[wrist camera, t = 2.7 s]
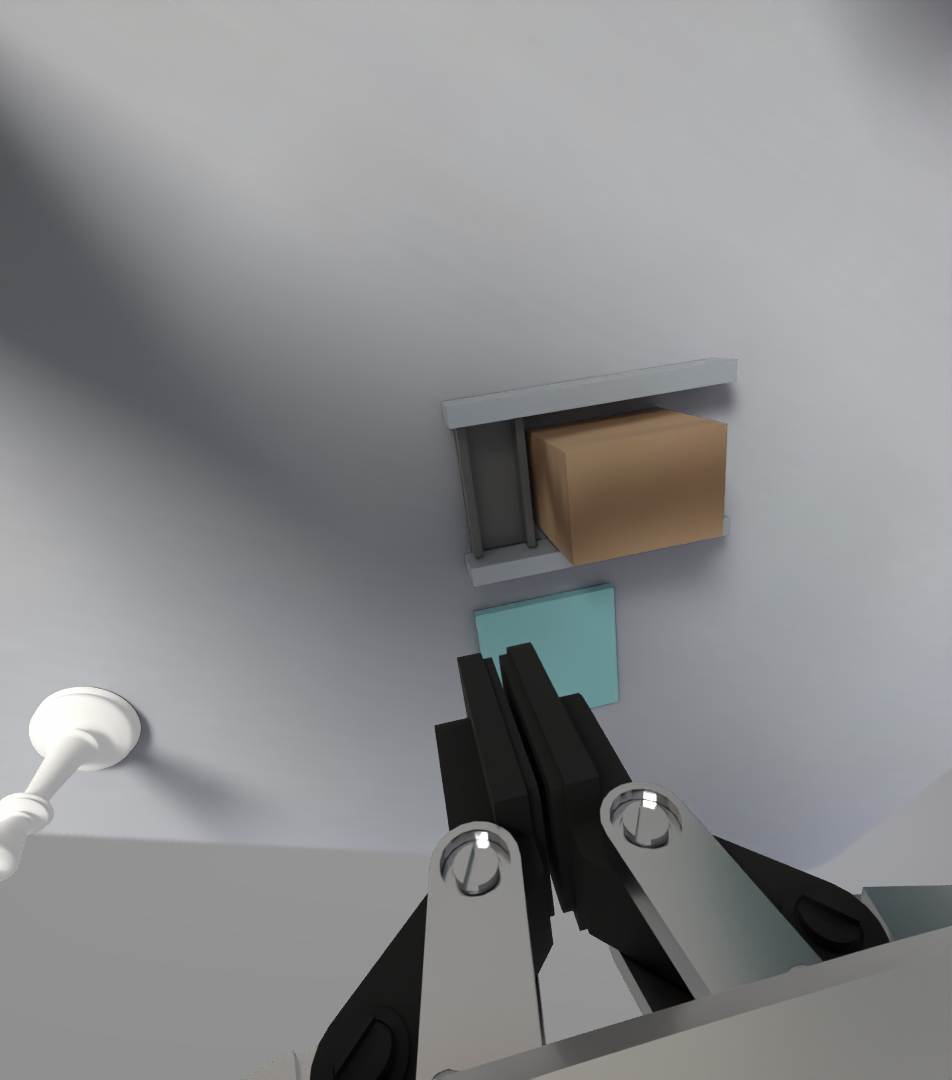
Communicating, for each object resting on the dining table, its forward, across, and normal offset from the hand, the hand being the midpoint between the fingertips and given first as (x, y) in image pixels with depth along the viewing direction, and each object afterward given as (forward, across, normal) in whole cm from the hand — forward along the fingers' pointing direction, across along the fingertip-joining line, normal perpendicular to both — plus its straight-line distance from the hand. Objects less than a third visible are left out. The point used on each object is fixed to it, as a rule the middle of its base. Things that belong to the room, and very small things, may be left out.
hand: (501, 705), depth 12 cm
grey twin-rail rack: (+16, -8, 0) cm, 18 cm away
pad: (+16, -5, +11) cm, 20 cm away
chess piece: (+16, +20, +9) cm, 27 cm away
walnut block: (+16, -9, 0) cm, 19 cm away
